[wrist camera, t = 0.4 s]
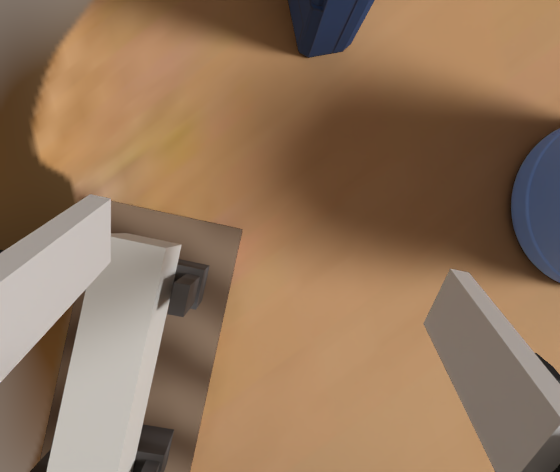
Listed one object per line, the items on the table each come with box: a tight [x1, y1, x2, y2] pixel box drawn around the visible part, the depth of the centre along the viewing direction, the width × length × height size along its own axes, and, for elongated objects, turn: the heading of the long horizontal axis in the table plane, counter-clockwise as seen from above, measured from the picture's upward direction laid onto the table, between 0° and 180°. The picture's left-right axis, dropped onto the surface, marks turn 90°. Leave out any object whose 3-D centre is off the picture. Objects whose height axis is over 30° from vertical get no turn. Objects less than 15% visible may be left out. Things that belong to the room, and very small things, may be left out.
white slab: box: [47, 233, 181, 472], centre depth 24 cm, size 20×4×5 cm, turn 168°
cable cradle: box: [30, 201, 242, 472], centre depth 27 cm, size 24×12×10 cm, turn 168°
